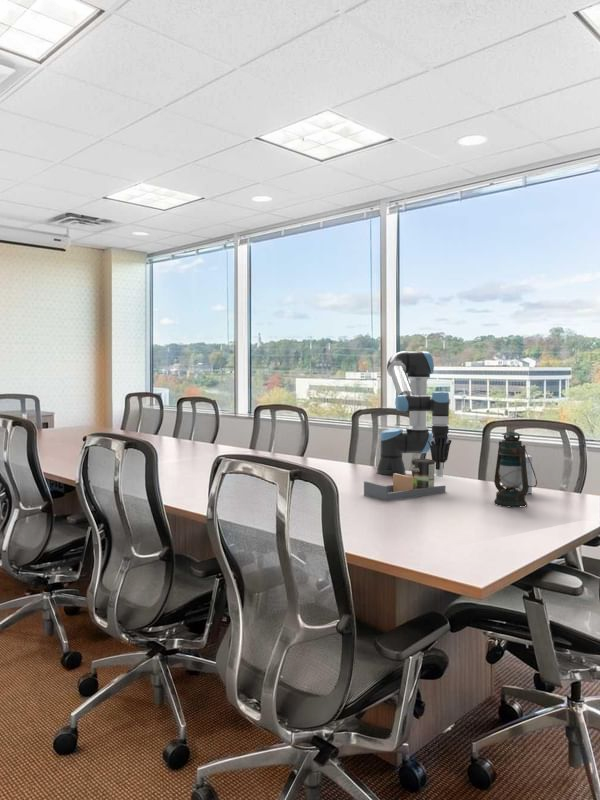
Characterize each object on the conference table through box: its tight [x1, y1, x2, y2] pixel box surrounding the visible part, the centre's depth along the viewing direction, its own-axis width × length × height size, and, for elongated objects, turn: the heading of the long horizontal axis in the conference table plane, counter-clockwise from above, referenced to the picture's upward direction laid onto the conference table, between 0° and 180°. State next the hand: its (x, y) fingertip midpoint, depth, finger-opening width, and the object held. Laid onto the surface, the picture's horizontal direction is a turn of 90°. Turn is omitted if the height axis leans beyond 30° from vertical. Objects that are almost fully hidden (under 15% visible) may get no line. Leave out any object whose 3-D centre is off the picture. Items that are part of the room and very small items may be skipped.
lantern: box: [493, 431, 538, 508], centre depth 252 cm, size 19×14×30 cm
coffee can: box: [411, 458, 436, 489], centre depth 279 cm, size 10×10×14 cm
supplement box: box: [515, 453, 533, 493], centre depth 278 cm, size 10×9×17 cm
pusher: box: [392, 473, 413, 492], centre depth 272 cm, size 2×11×8 cm, turn 33°
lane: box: [363, 480, 446, 502], centre depth 273 cm, size 35×14×6 cm, turn 123°
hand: (439, 476), depth 284 cm, fingers closed
